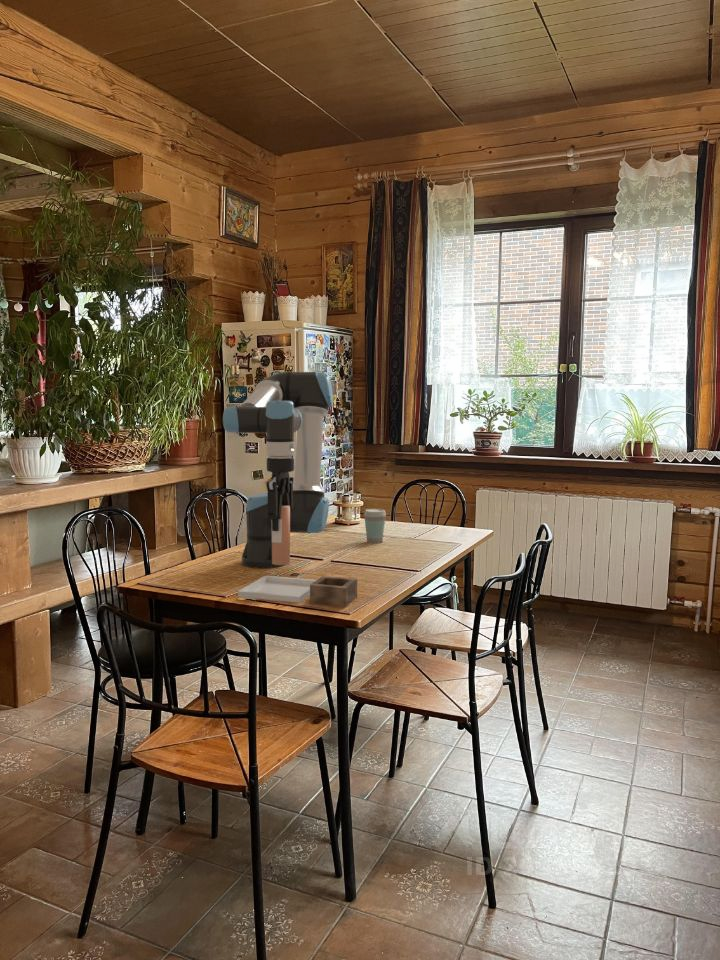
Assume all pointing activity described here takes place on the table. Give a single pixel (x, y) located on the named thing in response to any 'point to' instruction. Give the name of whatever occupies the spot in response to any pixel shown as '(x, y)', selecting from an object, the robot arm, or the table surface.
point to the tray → (277, 589)
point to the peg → (283, 540)
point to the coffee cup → (374, 525)
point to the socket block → (333, 591)
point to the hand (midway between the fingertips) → (280, 540)
